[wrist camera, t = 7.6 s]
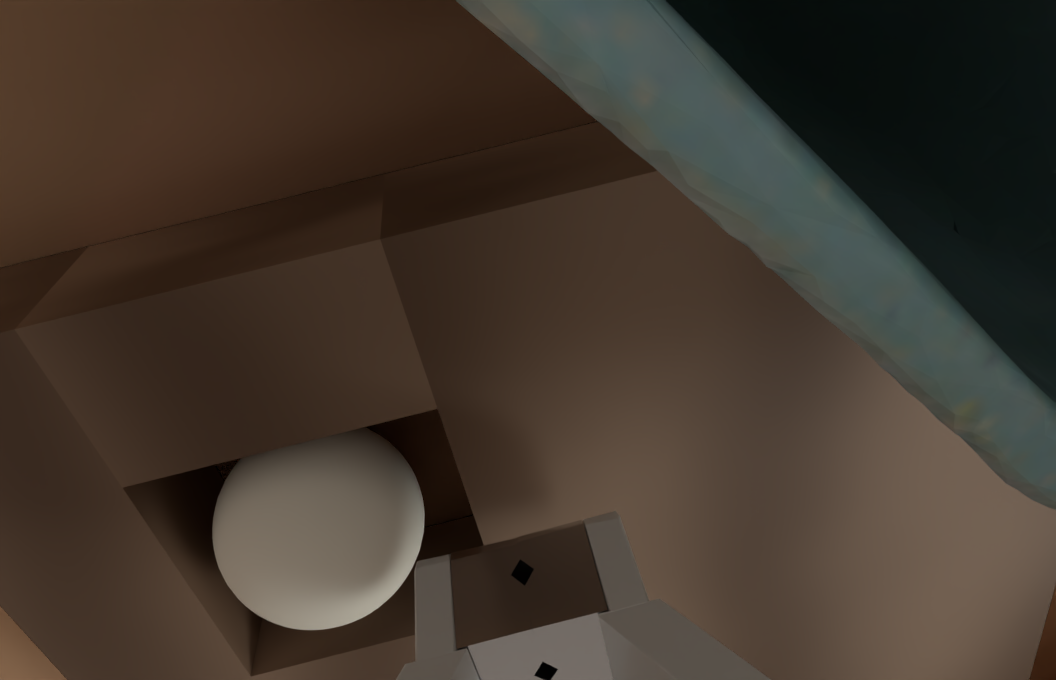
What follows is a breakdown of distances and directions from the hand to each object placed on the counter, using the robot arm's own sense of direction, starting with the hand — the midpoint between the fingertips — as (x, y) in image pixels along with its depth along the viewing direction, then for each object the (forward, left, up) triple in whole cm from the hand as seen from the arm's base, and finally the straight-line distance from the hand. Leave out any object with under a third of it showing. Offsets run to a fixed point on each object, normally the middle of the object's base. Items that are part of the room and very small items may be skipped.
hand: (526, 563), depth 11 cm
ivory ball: (+3, 0, -2) cm, 4 cm away
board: (-1, +5, -4) cm, 6 cm away
